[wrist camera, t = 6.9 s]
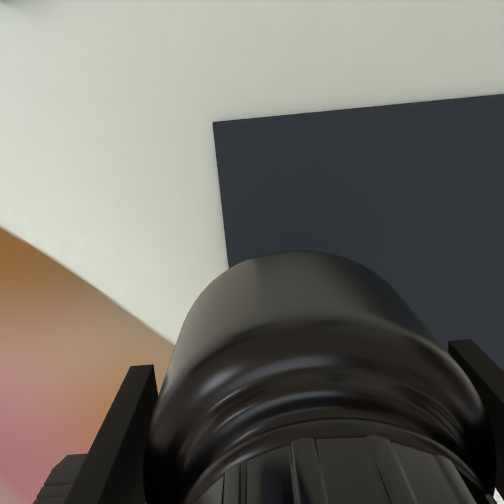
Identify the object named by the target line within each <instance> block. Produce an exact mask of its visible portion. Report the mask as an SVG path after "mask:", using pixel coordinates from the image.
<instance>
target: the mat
mask: <svg viewBox="0 0 504 504" xmlns="http://www.w3.org/2000/svg"><path fill="white" fill-rule="evenodd" d="M213 131H214V140H215V149H216V158H217V167H218V176H219V185H220V194H221V203H222V212H223V221H224V230H225V239H226V248H227V257H228V266H229V269H230V268H232V267H233V266H235V265H237V264H239V263H241V262H244V261H246V260H249V259H251V258H254V257H257V256H261V255H264V254H268V253H273V252H280V251H288V250H310V251H320V252H326V253H331V254H335V255H338V256H342V257H345V258H348V259H350V260H353V261H355V262H357V263H360V264H362V265H364V266H365V267H367V268H369V269H370V270H372V271H374V272H375V273H377V274H378V275H379V276H381V277H382V278H383V279H384V280H385V281H387V282H388V283H389V284H390V285H391V286H392V287H393V288H394V289H395V290H396V291H397V293H398V294H399V295H400V296H401V297H402V298H403V300H404V301H405V302H406V303H407V304H408V306H409V307H410V308H411V309H412V310H413V311H414V313H415V314H416V315H417V316H418V317H419V319H420V320H421V321H422V322H423V323H424V324H425V326H426V327H427V328H428V329H429V330H430V332H431V333H432V334H433V335H434V336H435V337H436V339H437V340H438V341H439V342H440V343H441V344H442V346H443V347H444V348H445V349H446V350H447V352H448V341H454V340H466V339H472V340H473V341H474V342H475V343H476V344H477V345H478V346H479V347H480V348H481V349H482V350H483V351H484V352H485V353H486V354H487V355H488V356H489V357H490V358H491V359H492V360H493V361H494V362H495V363H496V364H497V365H498V366H499V367H500V368H501V369H502V370H503V371H504V94H499V95H488V96H478V97H468V98H457V99H447V100H437V101H426V102H416V103H406V104H395V105H385V106H375V107H365V108H354V109H344V110H334V111H323V112H313V113H303V114H292V115H282V116H272V117H261V118H251V119H241V120H230V121H220V122H213Z"/></svg>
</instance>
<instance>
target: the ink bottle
mask: <svg viewBox="0 0 504 504" xmlns="http://www.w3.org/2000/svg"><path fill="white" fill-rule="evenodd" d="M496 472H497V459H496V447H495V440H494V435H493V431H492V427H491V423H490V420H489V417H488V414H487V412H486V409H485V407H484V404H483V402H482V400H481V398H480V396H479V394H478V392H477V391H476V389H475V387H474V386H473V384H472V382H471V381H470V379H469V378H468V377H467V375H466V374H465V372H464V371H463V370H462V368H461V367H460V366H459V365H458V364H457V362H456V361H455V360H454V359H453V357H452V356H451V355H450V354H449V353H448V352H447V350H446V349H445V348H444V347H443V346H442V344H441V343H440V342H439V341H438V340H437V339H436V337H435V336H434V335H433V334H432V333H431V332H430V330H429V329H428V328H427V327H426V326H425V324H424V323H423V322H422V321H421V320H420V319H419V317H418V316H417V315H416V314H415V313H414V311H413V310H412V309H411V308H410V307H409V306H408V304H407V303H406V302H405V301H404V300H403V298H402V297H401V296H400V295H399V294H398V293H397V291H396V290H395V289H394V288H393V287H392V286H391V285H390V284H389V283H388V282H387V281H385V280H384V279H383V278H382V277H381V276H379V275H378V274H377V273H375V272H374V271H372V270H370V269H369V268H367V267H365V266H364V265H362V264H360V263H357V262H355V261H353V260H350V259H348V258H345V257H342V256H338V255H335V254H331V253H326V252H320V251H310V250H288V251H280V252H273V253H268V254H264V255H261V256H257V257H254V258H251V259H249V260H246V261H244V262H241V263H239V264H237V265H235V266H233V267H232V268H230V269H228V270H227V271H225V272H224V273H222V274H221V275H220V276H218V277H217V278H216V279H215V280H213V281H212V282H211V283H210V284H209V285H208V286H207V287H206V288H205V289H204V291H203V292H202V293H201V294H200V295H199V297H198V298H197V299H196V301H195V302H194V304H193V306H192V307H191V309H190V311H189V312H188V314H187V316H186V318H185V321H184V323H183V326H182V328H181V331H180V334H179V337H178V340H177V343H176V346H175V349H174V352H173V355H172V358H171V361H170V364H169V367H168V370H167V373H166V376H165V379H164V382H163V385H162V388H161V391H160V394H159V397H158V399H157V402H156V405H155V408H154V411H153V415H152V418H151V421H150V424H149V428H148V432H147V437H146V442H145V448H144V456H143V487H144V495H145V501H146V504H497V502H496V501H495V500H494V498H493V496H494V491H495V484H496Z"/></svg>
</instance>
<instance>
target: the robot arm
mask: <svg viewBox="0 0 504 504" xmlns="http://www.w3.org/2000/svg"><path fill="white" fill-rule="evenodd" d="M448 353H449V354H450V355H451V356H452V357H453V359H454V360H455V361H456V362H457V364H458V365H459V366H460V367H461V368H462V370H463V371H464V372H465V374H466V375H467V377H468V378H469V379H470V381H471V382H472V384H473V386H474V387H475V389H476V391H477V392H478V394H479V396H480V398H481V400H482V402H483V404H484V407H485V409H486V412H487V414H488V417H489V420H490V423H491V427H492V431H493V435H494V440H495V447H496V459H497V472H496V484H495V488H496V489H497V491H498V492H499V494H500V495H501V497H502V498H503V500H504V371H503V370H502V369H501V368H500V367H499V366H498V365H497V364H496V363H495V362H494V361H493V360H492V359H491V358H490V357H489V356H488V355H487V354H486V353H485V352H484V351H483V350H482V349H481V348H480V347H479V346H478V345H477V344H476V343H475V342H474V341H473V340H472V339H466V340H454V341H448ZM157 399H158V392H157V385H156V379H155V373H154V366H153V365H140V366H131V367H130V368H129V371H128V373H127V375H126V377H125V379H124V381H123V383H122V385H121V387H120V389H119V391H118V393H117V395H116V397H115V399H114V401H113V403H112V405H111V407H110V409H109V411H108V413H107V415H106V417H105V420H104V421H103V424H102V426H101V428H100V430H99V432H98V434H97V436H96V438H95V440H94V442H93V444H92V446H91V448H90V450H89V452H88V454H76V455H67V456H66V457H65V458H64V459H63V460H62V461H61V462H60V463H59V464H57V465H56V466H55V467H54V468H53V469H52V471H51V473H50V474H49V476H48V478H47V480H46V482H45V483H44V487H42V488H41V490H40V492H39V494H38V495H37V500H35V501H34V502H33V504H146V501H145V495H144V487H143V456H144V448H145V442H146V437H147V432H148V428H149V424H150V421H151V418H152V415H153V411H154V408H155V405H156V402H157Z"/></svg>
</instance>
